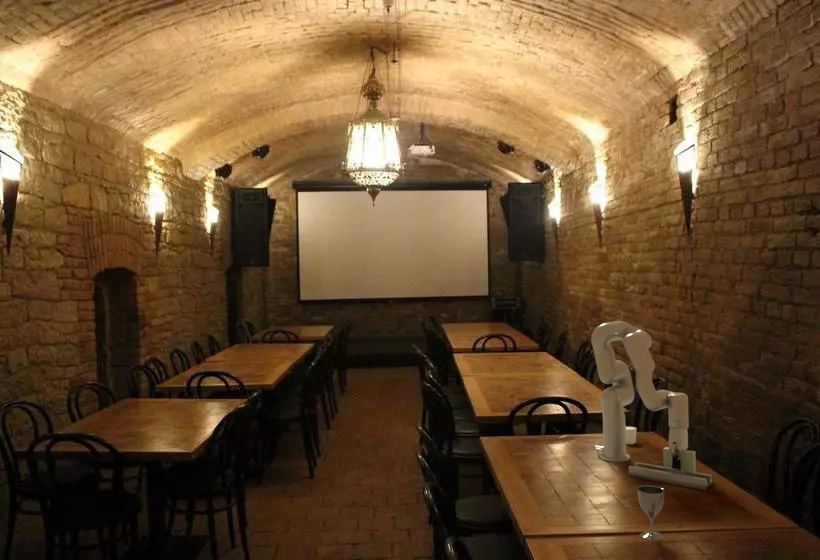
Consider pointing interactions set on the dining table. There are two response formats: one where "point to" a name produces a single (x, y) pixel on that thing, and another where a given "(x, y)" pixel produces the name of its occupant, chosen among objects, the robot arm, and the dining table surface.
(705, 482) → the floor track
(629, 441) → the shot glass
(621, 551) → the dining table surface
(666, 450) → the door panel
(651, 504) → the wine glass
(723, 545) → the dining table surface
